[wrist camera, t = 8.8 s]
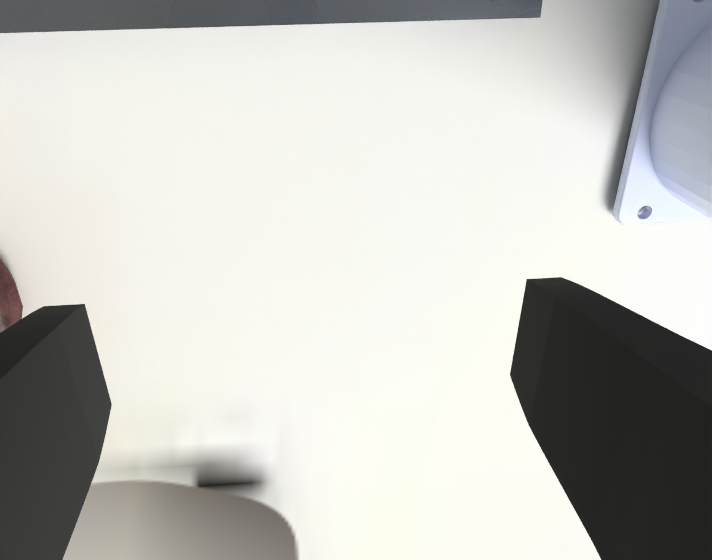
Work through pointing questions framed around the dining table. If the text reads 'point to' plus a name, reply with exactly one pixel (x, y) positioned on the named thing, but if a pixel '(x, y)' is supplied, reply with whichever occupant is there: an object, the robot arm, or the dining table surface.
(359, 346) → the dining table surface
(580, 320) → the robot arm
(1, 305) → the can
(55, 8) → the stand
